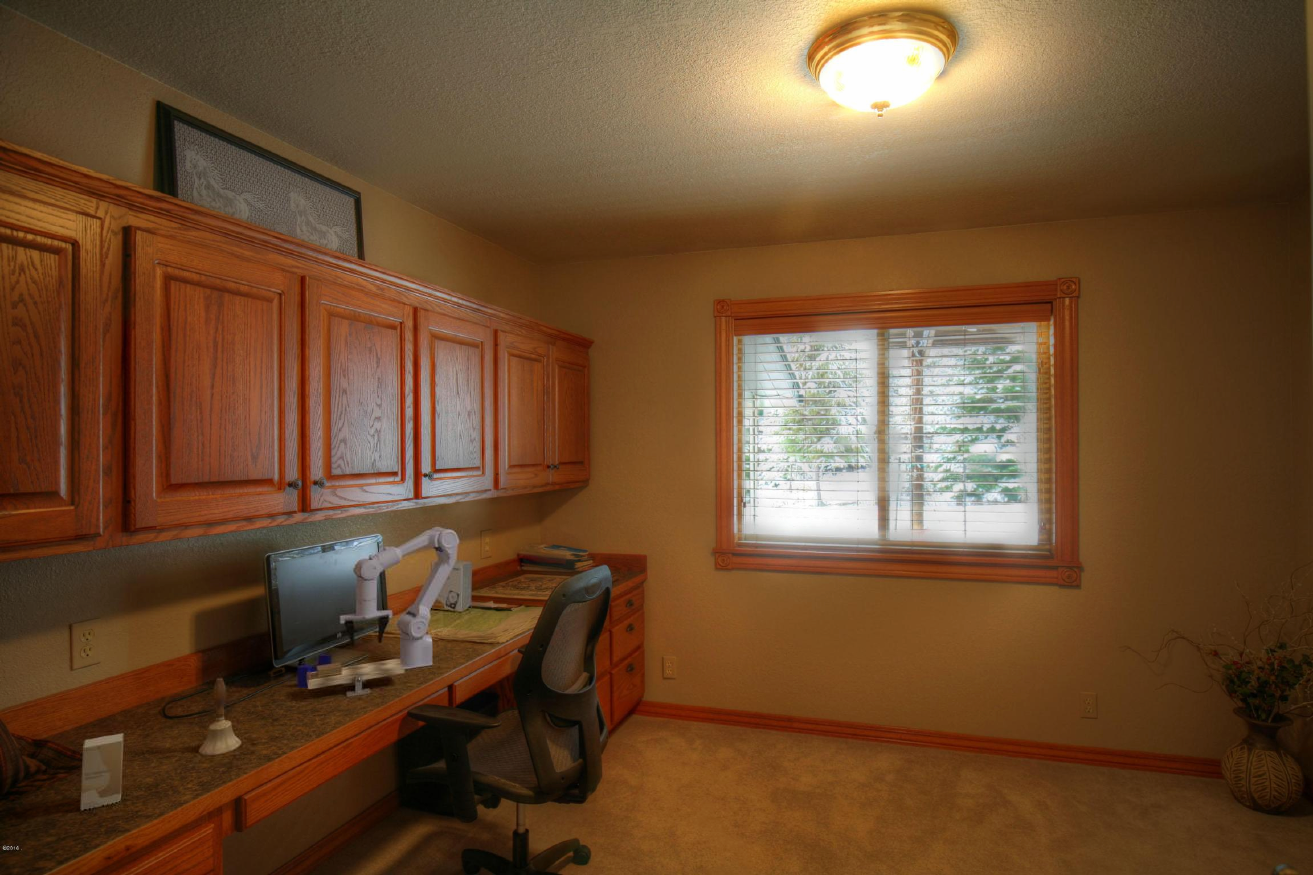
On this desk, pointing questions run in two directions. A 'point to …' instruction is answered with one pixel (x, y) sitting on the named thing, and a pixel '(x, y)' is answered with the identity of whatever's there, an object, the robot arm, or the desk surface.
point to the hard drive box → (455, 588)
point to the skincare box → (101, 771)
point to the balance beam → (357, 673)
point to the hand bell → (219, 727)
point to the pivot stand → (357, 687)
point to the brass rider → (329, 670)
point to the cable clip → (311, 669)
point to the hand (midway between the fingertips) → (366, 643)
